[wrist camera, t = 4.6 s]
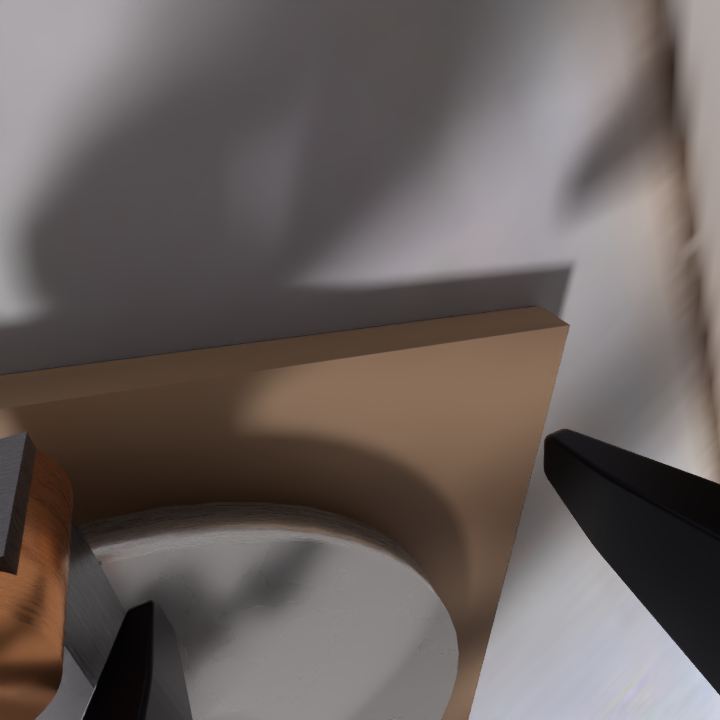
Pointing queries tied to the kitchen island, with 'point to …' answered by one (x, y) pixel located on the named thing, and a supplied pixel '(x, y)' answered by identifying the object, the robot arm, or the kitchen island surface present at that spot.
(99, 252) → the kitchen island surface
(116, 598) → the handwheel
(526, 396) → the wheel base
